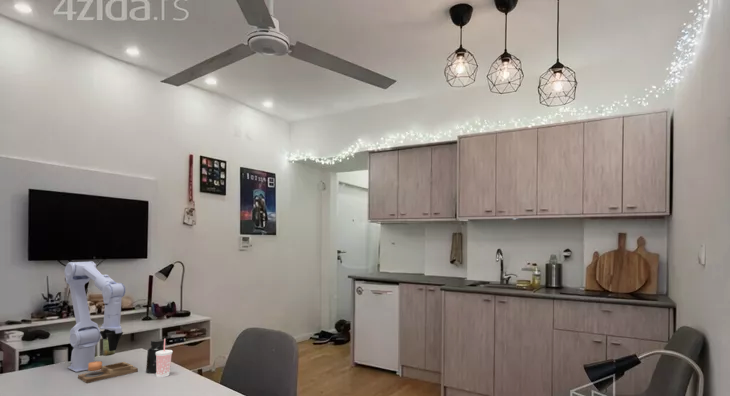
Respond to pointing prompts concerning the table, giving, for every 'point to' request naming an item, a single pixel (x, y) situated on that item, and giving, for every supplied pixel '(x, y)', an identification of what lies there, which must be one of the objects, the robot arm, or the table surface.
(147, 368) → the supplement bottle
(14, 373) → the table surface
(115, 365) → the board
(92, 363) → the button
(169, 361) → the beverage cup
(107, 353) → the cell
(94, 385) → the table surface
